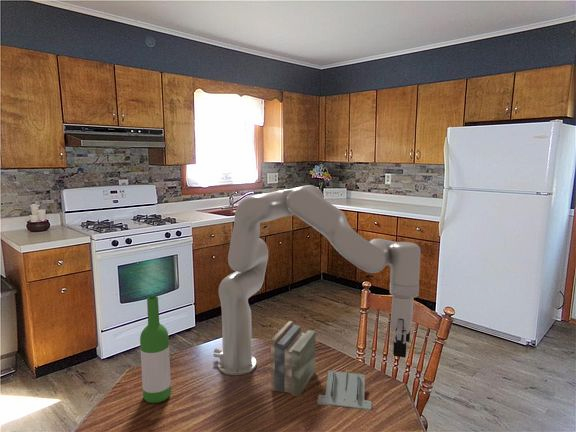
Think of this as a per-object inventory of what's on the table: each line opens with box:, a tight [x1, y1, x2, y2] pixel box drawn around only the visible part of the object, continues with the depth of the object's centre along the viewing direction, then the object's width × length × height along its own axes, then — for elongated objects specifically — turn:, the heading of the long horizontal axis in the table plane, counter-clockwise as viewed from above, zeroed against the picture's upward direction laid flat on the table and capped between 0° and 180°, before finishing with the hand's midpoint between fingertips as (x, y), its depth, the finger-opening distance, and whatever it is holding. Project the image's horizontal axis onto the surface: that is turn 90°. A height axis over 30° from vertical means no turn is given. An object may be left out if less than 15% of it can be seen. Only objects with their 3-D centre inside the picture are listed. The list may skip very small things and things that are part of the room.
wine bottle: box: [139, 295, 172, 404], centre depth 115 cm, size 8×8×30 cm
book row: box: [270, 320, 317, 398], centre depth 124 cm, size 9×14×16 cm, turn 158°
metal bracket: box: [316, 368, 372, 411], centre depth 118 cm, size 14×6×15 cm
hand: (401, 348), depth 111 cm, fingers open, 9 cm apart
